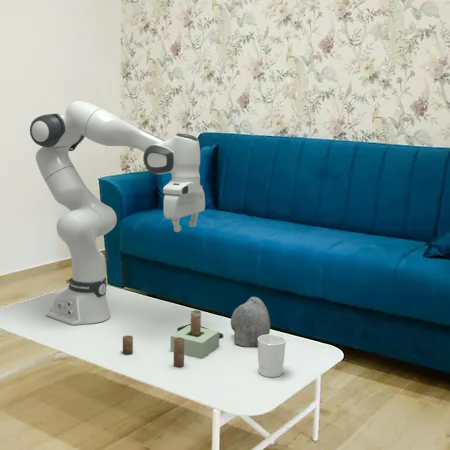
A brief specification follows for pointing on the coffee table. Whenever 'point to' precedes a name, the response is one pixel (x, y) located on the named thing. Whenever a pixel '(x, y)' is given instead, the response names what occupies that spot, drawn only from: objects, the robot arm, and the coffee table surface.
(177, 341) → the pin medium
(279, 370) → the white cup
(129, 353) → the pin short
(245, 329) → the decorative stone
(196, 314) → the pin long
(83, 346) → the coffee table surface
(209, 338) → the socket block
